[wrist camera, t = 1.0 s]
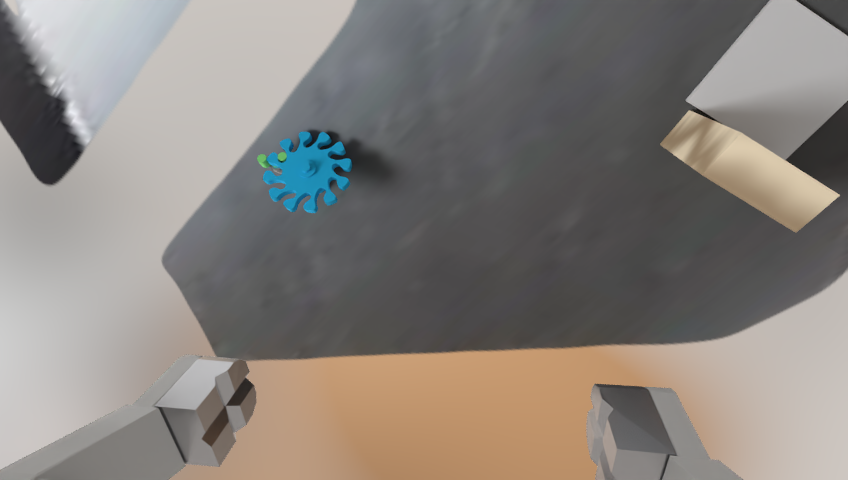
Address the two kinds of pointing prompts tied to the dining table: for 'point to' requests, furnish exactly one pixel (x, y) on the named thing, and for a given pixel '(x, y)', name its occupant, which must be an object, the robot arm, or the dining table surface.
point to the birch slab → (748, 170)
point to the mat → (778, 78)
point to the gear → (306, 171)
